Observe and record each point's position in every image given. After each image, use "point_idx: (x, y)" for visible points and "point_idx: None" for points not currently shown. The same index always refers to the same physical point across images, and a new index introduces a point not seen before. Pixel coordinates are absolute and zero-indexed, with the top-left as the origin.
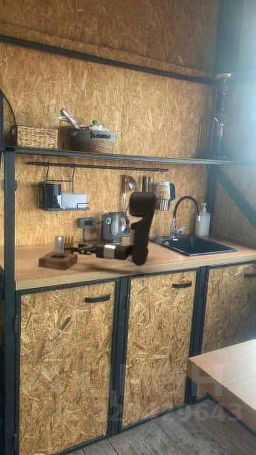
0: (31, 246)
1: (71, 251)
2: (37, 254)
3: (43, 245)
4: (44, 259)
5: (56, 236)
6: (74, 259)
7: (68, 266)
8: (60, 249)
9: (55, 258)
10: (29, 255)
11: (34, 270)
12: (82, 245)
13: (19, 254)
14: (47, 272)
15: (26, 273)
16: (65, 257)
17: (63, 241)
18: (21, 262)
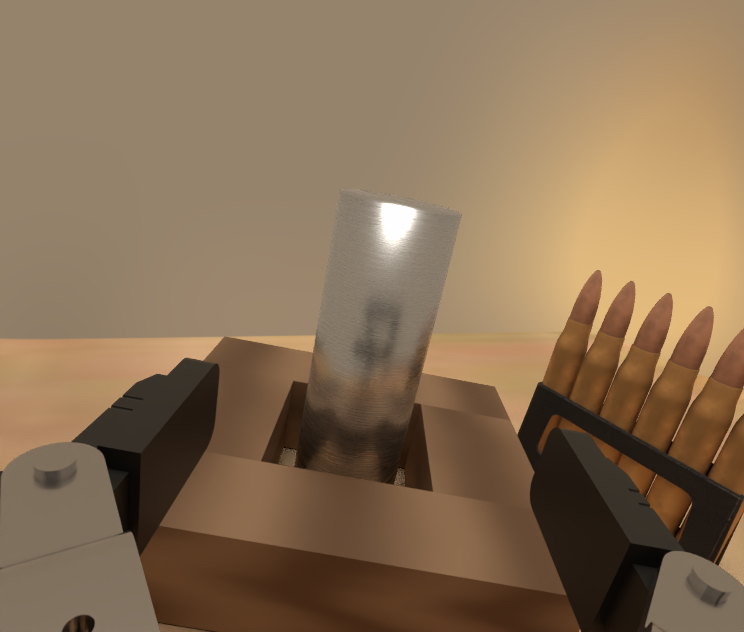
0: (619, 357)
1: (692, 517)
2: (508, 379)
3: (698, 389)
4: (206, 359)
5: (398, 197)
6: (438, 613)
7: (182, 606)
8: (323, 350)
9: (256, 411)
10: (460, 357)
11: (107, 386)
12: (583, 515)
13: (447, 333)
14: (13, 456)
15: (25, 361)
16: (332, 481)
17: (380, 267)
18: (302, 340)
